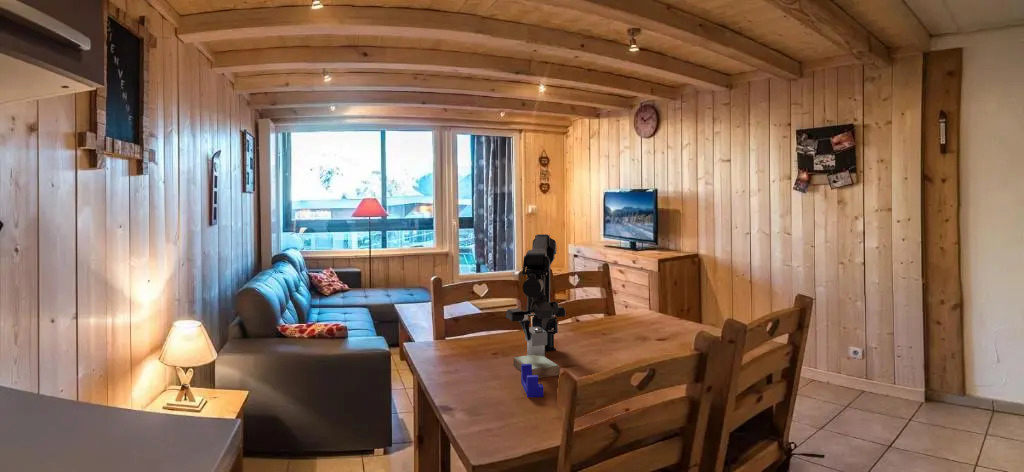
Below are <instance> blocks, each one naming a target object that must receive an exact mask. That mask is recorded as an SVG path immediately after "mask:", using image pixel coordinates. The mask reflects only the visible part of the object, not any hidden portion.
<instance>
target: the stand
mask: <svg viewBox="0 0 1024 472" xmlns="http://www.w3.org/2000/svg"><path fill="white" fill-rule="evenodd" d="M521 364H532V375H538V379H540V378H548V377H553V376H554V377H555V376H560V375H561V371H560V370H561V369H560V368H561V367H560V366H559V364H557V363H555V362H554V361H552V360H550V359H549V358H547V357H546V356H545V357H544V356H543V355H541V354H536V355H528V356H527V355H523V356H522V355H520V356H515V357H513V366H514V368H515V369H518V371H520V372H521ZM559 374H560V375H559Z"/></svg>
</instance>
